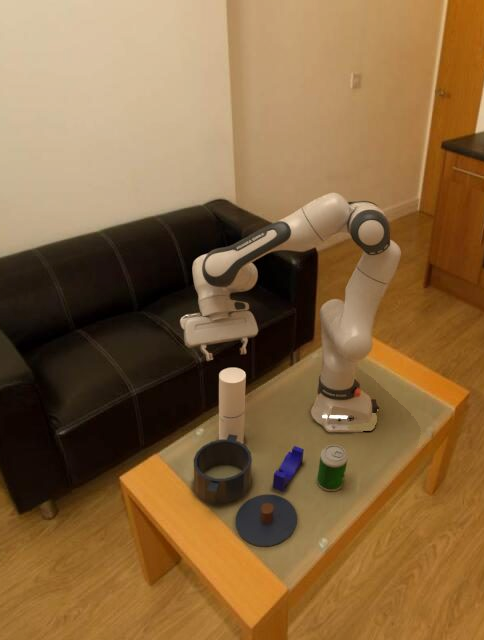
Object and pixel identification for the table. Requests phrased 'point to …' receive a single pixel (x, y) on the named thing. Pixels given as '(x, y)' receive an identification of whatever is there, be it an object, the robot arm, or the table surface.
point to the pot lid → (266, 520)
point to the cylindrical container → (232, 403)
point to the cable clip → (288, 468)
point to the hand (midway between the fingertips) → (227, 357)
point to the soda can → (332, 468)
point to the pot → (222, 455)
